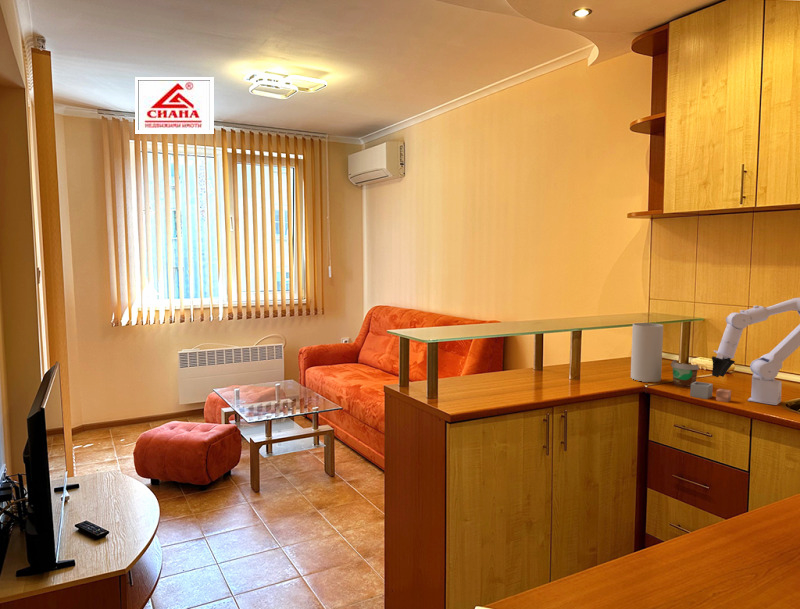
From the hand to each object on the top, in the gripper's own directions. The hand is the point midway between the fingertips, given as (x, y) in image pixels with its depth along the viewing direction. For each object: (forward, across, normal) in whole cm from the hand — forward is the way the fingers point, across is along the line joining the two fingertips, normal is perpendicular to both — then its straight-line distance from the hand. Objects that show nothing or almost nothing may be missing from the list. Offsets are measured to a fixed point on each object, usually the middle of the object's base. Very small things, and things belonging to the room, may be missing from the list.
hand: (717, 376), depth 216 cm
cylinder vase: (+14, -16, -30) cm, 37 cm away
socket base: (+10, -2, -4) cm, 11 cm away
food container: (+11, -15, -16) cm, 24 cm away
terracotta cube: (+8, -1, +4) cm, 9 cm away
